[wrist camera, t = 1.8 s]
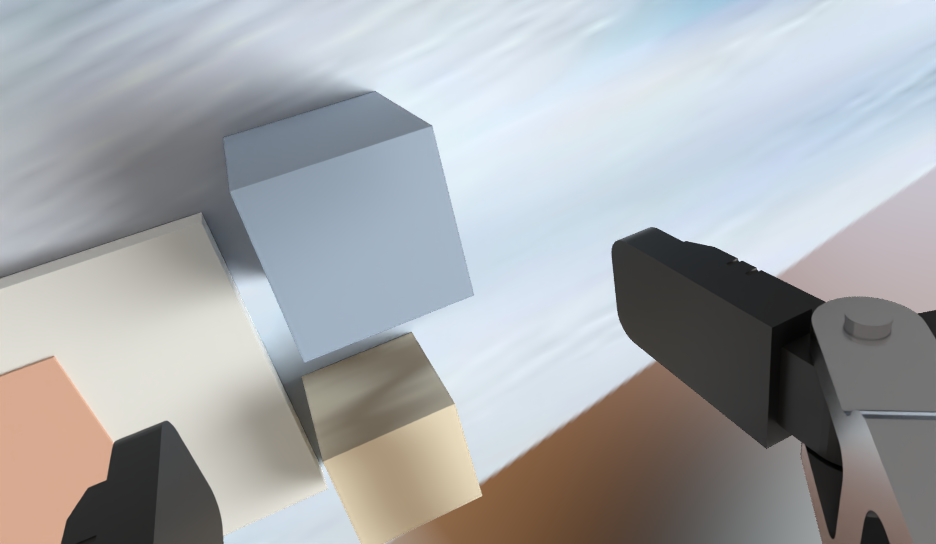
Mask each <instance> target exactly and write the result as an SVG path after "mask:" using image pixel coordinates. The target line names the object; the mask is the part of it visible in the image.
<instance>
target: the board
mask: <svg viewBox="0 0 936 544" xmlns="http://www.w3.org/2000/svg"><path fill="white" fill-rule="evenodd" d="M163 421H169V422H170V423H171V424H172V425H173V426H174V427H175V429H176V430H177V432H178V433H179V435H180V437H181V438H182V440H183V442H184V443H185V445H186V447H187V449H188V450H189V452H190V454H191V455H192V457H193V459H194V460H195V462H196V464H197V465H198V467H199V469H200V470H201V472H202V474H203V476H204V477H205V479H206V481H207V482H208V484H209V486H210V487H211V489H212V491H213V494H214V496H215V498H216V501H217V504H218V507H219V510H220V514H221V519H222V526H223V536H225V535H227V534H229V533H231V532H234V531H236V530H238V529H240V528H243V527H245V526H247V525H249V524H251V523H254V522H256V521H258V520H260V519H262V518H265V517H267V516H269V515H271V514H274V513H276V512H278V511H280V510H282V509H285V508H287V507H289V506H291V505H294V504H296V503H298V502H300V501H302V500H305V499H307V498H309V497H311V496H314V495H316V494H318V493H320V492H322V491H325V490H327V485H326V481H325V477H324V473H323V470H322V468H321V466H320V464H319V462H318V460H317V458H316V455H315V453H314V451H313V449H312V447H311V445H310V443H309V441H308V438H307V436H306V434H305V432H304V430H303V428H302V426H301V423H300V421H299V419H298V417H297V415H296V413H295V411H294V409H293V406H292V404H291V402H290V400H289V398H288V396H287V394H286V391H285V389H284V387H283V385H282V383H281V381H280V379H279V377H278V374H277V372H276V370H275V368H274V366H273V364H272V362H271V359H270V357H269V355H268V353H267V351H266V349H265V347H264V345H263V342H262V340H261V338H260V336H259V334H258V332H257V330H256V327H255V325H254V323H253V321H252V319H251V317H250V315H249V313H248V310H247V308H246V306H245V304H244V302H243V300H242V298H241V296H240V293H239V291H238V289H237V287H236V285H235V283H234V281H233V278H232V276H231V274H230V272H229V270H228V268H227V266H226V264H225V261H224V259H223V257H222V255H221V253H220V251H219V249H218V246H217V244H216V242H215V240H214V238H213V236H212V234H211V232H210V229H209V227H208V225H207V223H206V221H205V219H204V217H203V214H202V212H200V213H197V214H194V215H191V216H188V217H185V218H182V219H179V220H176V221H173V222H170V223H167V224H164V225H161V226H158V227H155V228H152V229H149V230H146V231H143V232H140V233H137V234H134V235H131V236H128V237H125V238H121V239H118V240H115V241H112V242H109V243H106V244H103V245H100V246H97V247H94V248H91V249H88V250H85V251H82V252H79V253H76V254H73V255H70V256H67V257H64V258H61V259H58V260H55V261H52V262H49V263H46V264H42V265H39V266H36V267H33V268H30V269H27V270H24V271H21V272H18V273H15V274H12V275H9V276H6V277H3V278H0V544H61V541H62V537H63V533H64V528H65V524H66V520H67V519H68V517H69V516H70V514H71V513H72V511H73V509H74V508H75V506H76V505H77V503H78V502H79V500H80V499H81V497H82V496H83V494H84V493H85V491H86V490H87V488H88V487H91V486H93V485H96V484H98V483H100V482H103V481H105V480H107V474H108V469H109V463H110V457H111V452H112V447H113V444H114V442H115V441H116V440H118V439H121V438H123V437H126V436H128V435H131V434H133V433H136V432H138V431H141V430H143V429H146V428H148V427H151V426H153V425H156V424H158V423H161V422H163Z"/></svg>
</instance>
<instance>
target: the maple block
mask: <svg viewBox="0 0 936 544" xmlns="http://www.w3.org/2000/svg"><path fill="white" fill-rule="evenodd" d="M302 380H303V384H304V388H305V392H306V396H307V400H308V404H309V408H310V412H311V416H312V420H313V424H314V428H315V432H316V436H317V440H318V444H319V448H320V452H321V456H322V460H323V463H324V465H325V467H326V469H327V472H328V474H329V476H330V478H331V480H332V482H333V485H334V487H335V489H336V491H337V493H338V495H339V497H340V500H341V502H342V504H343V506H344V508H345V510H346V512H347V515H348V517H349V519H350V521H351V523H352V525H353V528H354V530H355V532H356V534H357V536H358V538H359V540H360V543H361V544H384V543H386V542H388V541H390V540H392V539H394V538H396V537H398V536H400V535H402V534H404V533H406V532H409V531H411V530H413V529H415V528H417V527H419V526H421V525H423V524H425V523H427V522H429V521H431V520H433V519H435V518H438V517H440V516H442V515H444V514H446V513H448V512H450V511H452V510H454V509H456V508H458V507H460V506H462V505H464V504H466V503H468V502H471V501H473V500H475V499H477V498H479V497H481V496H482V494H481V490H480V487H479V484H478V480H477V477H476V473H475V470H474V467H473V463H472V460H471V457H470V453H469V450H468V446H467V443H466V440H465V436H464V433H463V430H462V426H461V423H460V419H459V416H458V413H457V409H456V406H455V403H454V401H453V400H452V398H451V396H450V395H449V393H448V391H447V390H446V388H445V386H444V385H443V383H442V381H441V380H440V378H439V376H438V375H437V373H436V372H435V370H434V368H433V367H432V365H431V363H430V362H429V360H428V358H427V357H426V355H425V353H424V352H423V350H422V348H421V347H420V345H419V343H418V342H417V340H416V338H415V337H414V335H413V333H412V332H411V333H408V334H406V335H403V336H401V337H398V338H396V339H393V340H391V341H388V342H386V343H384V344H381V345H379V346H376V347H374V348H371V349H369V350H366V351H364V352H361V353H359V354H356V355H354V356H351V357H349V358H346V359H344V360H341V361H339V362H337V363H334V364H332V365H329V366H327V367H324V368H322V369H319V370H317V371H314V372H312V373H309V374H307V375H304V376H302Z"/></svg>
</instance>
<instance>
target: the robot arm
mask: <svg viewBox="0 0 936 544" xmlns="http://www.w3.org/2000/svg"><path fill="white" fill-rule="evenodd" d="M612 264H613V273H614V283H615V293H616V302H617V311H618V316H619V320H620V322H621V325H622V327H623V329H624V331H625V332H626V334H627V335H628V337H629V338H630V339H631V340H632V341H633V342H634V343H635V344H636V345H638V346H639V347H640V348H641V349H643V350H644V351H645V352H646V353H648V354H649V355H650V356H651V357H653V358H654V359H655V360H656V361H658V362H659V363H660V364H661V365H663V366H664V367H665V368H666V369H668V370H669V371H670V372H671V373H673V374H674V375H675V376H676V377H678V378H679V379H680V380H681V381H683V382H684V383H685V384H686V385H688V386H689V387H690V388H691V389H693V390H694V391H695V392H696V393H698V394H699V395H700V396H701V397H703V398H704V399H705V400H706V401H708V402H709V403H710V404H711V405H713V406H714V407H715V408H716V409H718V410H719V411H720V412H721V413H723V414H724V415H725V416H726V417H727V418H729V419H730V420H731V421H733V422H734V423H735V424H736V425H737V426H739V427H740V428H741V429H742V430H744V431H745V432H746V433H747V434H749V435H750V436H751V437H752V438H754V439H755V440H756V441H757V442H759V443H760V444H761V445H762V446H764V447H765V448H766V449H767V448H769V447H771V446H772V445H774V444H776V443H778V442H780V441H782V440H784V439H785V438H788V437H789V436H791V435H793V436H794V437H796V438H797V439H798V440H800V441H801V453H800V455H801V461H802V465H803V469H804V473H805V477H806V481H807V485H808V489H809V493H810V497H811V501H812V505H813V509H814V513H815V517H816V521H817V525H818V528H819V532H820V537H821V540H822V544H936V310H934V311H929V312H923V313H918V314H917V313H915V312H914V311H912V310H911V309H909V308H907V307H905V306H903V305H900V304H897V303H895V302H892V301H888V300H884V299H879V298H872V297H844V298H838V299H834V300H831V301H828V302H825V301H823V300H821V299H819V298H816V297H814V296H812V295H810V294H808V293H806V292H804V291H802V290H800V289H798V288H796V287H794V286H792V285H790V284H788V283H786V282H784V281H782V280H780V279H778V278H776V277H774V276H772V275H770V274H768V273H766V272H764V271H762V270H761V271H757V268H756V267H754V266H752V265H750V264H748V263H746V262H744V261H740V262H739V261H738V258H736V257H734V256H732V255H730V254H728V253H726V252H724V251H722V250H720V249H717V248H715V247H712V246H707V245H702V244H697V243H692V242H688V241H685V242H683V241H681V240H679V239H677V238H675V237H673V236H671V235H669V234H667V233H665V232H663V231H661V230H659V229H657V228H654V227H651V228H647V229H645V230H643V231H640V232H638V233H635V234H633V235H630V236H628V237H625V238H623V239H620V240H618V241H616V242H615V243H614V244H613V246H612ZM61 544H224V543H223V526H222V519H221V514H220V510H219V507H218V504H217V501H216V498H215V496H214V494H213V491H212V489H211V487H210V486H209V484H208V482H207V481H206V479H205V477H204V476H203V474H202V472H201V470H200V469H199V467H198V465H197V464H196V462H195V460H194V459H193V457H192V455H191V454H190V452H189V450H188V449H187V447H186V445H185V443H184V442H183V440H182V438H181V437H180V435H179V433H178V432H177V430H176V429H175V427H174V426H173V425H172V424H171V423H170V422H169V421H163V422H161V423H158V424H156V425H153V426H151V427H148V428H146V429H143V430H141V431H138V432H136V433H133V434H131V435H128V436H126V437H123V438H121V439H118V440H116V441H115V442H114V444H113V447H112V452H111V457H110V463H109V469H108V474H107V480H105V481H103V482H100V483H98V484H96V485H93V486H91V487H88V488H87V490H86V491H85V493H84V494H83V496H82V497H81V499H80V500H79V502H78V503H77V505H76V506H75V508H74V509H73V511H72V513H71V514H70V516H69V517H68V519H67V520H66V524H65V528H64V533H63V537H62V541H61Z"/></svg>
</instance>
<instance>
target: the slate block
mask: <svg viewBox="0 0 936 544" xmlns="http://www.w3.org/2000/svg"><path fill="white" fill-rule="evenodd" d="M223 141H224V150H225V158H226V167H227V175H228V183H229V192H230V194H231V196H232V199H233V201H234V203H235V206H236V208H237V210H238V212H239V215H240V217H241V219H242V222H243V224H244V226H245V228H246V231H247V233H248V235H249V238H250V240H251V242H252V244H253V247H254V249H255V251H256V254H257V256H258V258H259V260H260V263H261V265H262V267H263V270H264V272H265V274H266V277H267V279H268V281H269V283H270V286H271V288H272V290H273V293H274V295H275V297H276V299H277V302H278V304H279V306H280V309H281V311H282V313H283V315H284V318H285V320H286V322H287V325H288V327H289V329H290V332H291V334H292V336H293V338H294V341H295V343H296V345H297V348H298V350H299V352H300V354H301V357H302V359H303V361H304V363H305V362H308V361H310V360H313V359H315V358H318V357H320V356H323V355H325V354H328V353H330V352H333V351H335V350H338V349H340V348H343V347H345V346H348V345H350V344H353V343H355V342H358V341H360V340H363V339H365V338H368V337H370V336H373V335H375V334H378V333H380V332H383V331H385V330H388V329H390V328H393V327H395V326H398V325H401V324H403V323H406V322H408V321H411V320H413V319H416V318H418V317H421V316H423V315H426V314H428V313H431V312H433V311H436V310H438V309H441V308H443V307H446V306H448V305H451V304H453V303H456V302H458V301H461V300H463V299H466V298H468V297H471V296H473V295H474V293H473V289H472V285H471V281H470V277H469V273H468V269H467V265H466V260H465V256H464V252H463V248H462V244H461V240H460V236H459V232H458V228H457V224H456V220H455V216H454V212H453V208H452V204H451V200H450V196H449V192H448V188H447V184H446V180H445V176H444V172H443V168H442V164H441V160H440V155H439V151H438V147H437V143H436V139H435V135H434V131H433V127H432V125H430V124H428V123H427V122H425V121H423V120H422V119H420V118H418V117H417V116H415V115H414V114H412V113H410V112H409V111H407V110H405V109H404V108H402V107H400V106H399V105H397V104H395V103H394V102H392V101H391V100H389V99H387V98H386V97H384V96H382V95H381V94H379V93H377V92H376V91H375V92H371V93H368V94H365V95H361V96H358V97H355V98H352V99H348V100H345V101H342V102H338V103H335V104H332V105H329V106H325V107H322V108H319V109H315V110H312V111H309V112H306V113H302V114H299V115H296V116H292V117H289V118H286V119H283V120H279V121H276V122H273V123H269V124H266V125H263V126H260V127H256V128H253V129H250V130H247V131H243V132H240V133H237V134H233V135H230V136H227V137H224V138H223Z"/></svg>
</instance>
